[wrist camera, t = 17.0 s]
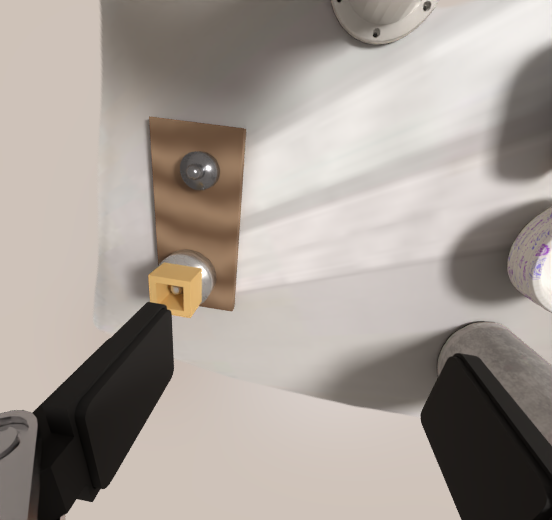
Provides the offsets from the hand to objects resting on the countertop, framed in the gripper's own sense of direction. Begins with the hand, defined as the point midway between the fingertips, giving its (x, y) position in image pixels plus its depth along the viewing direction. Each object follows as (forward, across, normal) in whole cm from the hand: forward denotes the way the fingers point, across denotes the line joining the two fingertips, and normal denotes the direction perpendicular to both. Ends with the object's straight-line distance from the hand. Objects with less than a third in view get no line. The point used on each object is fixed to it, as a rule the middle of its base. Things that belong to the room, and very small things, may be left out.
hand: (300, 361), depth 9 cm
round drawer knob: (+32, +15, -2) cm, 35 cm away
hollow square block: (+29, +17, +15) cm, 36 cm away
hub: (+32, +17, +15) cm, 39 cm away
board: (+33, +16, +7) cm, 37 cm away
